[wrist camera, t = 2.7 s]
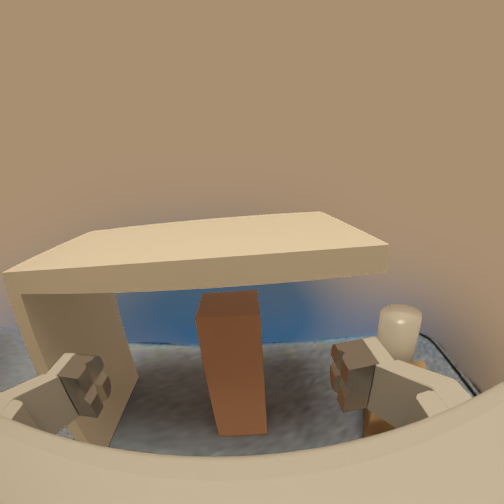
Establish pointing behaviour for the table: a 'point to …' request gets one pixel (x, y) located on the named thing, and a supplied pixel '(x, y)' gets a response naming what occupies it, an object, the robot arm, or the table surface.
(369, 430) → the oak block
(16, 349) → the table surface
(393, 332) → the cream cylinder
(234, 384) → the pillar
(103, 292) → the folded cream panel
